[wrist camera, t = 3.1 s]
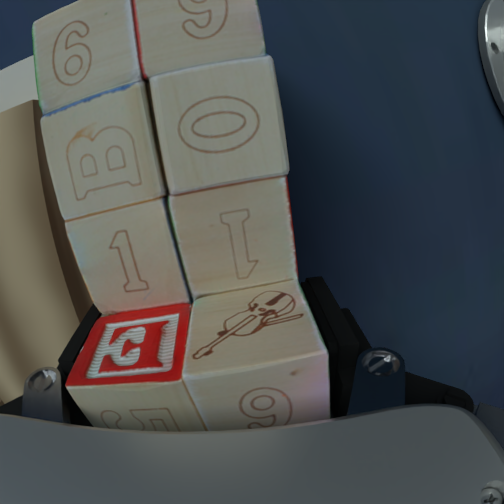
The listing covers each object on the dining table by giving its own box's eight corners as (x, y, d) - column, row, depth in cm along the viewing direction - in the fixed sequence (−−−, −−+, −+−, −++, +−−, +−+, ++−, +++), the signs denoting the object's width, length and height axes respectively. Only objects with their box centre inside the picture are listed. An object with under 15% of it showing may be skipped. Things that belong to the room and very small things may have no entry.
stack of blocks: (123, 64, 14) (-35, -9, 2) (239, 39, 14) (273, -114, 2) (202, 383, 22) (199, 540, 10) (287, 370, 22) (326, 525, 11)
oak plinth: (61, 101, 13) (32, 99, 11) (150, 429, 23) (144, 457, 20) (-59, 152, 13) (-87, 160, 10) (40, 416, 23) (30, 438, 20)
